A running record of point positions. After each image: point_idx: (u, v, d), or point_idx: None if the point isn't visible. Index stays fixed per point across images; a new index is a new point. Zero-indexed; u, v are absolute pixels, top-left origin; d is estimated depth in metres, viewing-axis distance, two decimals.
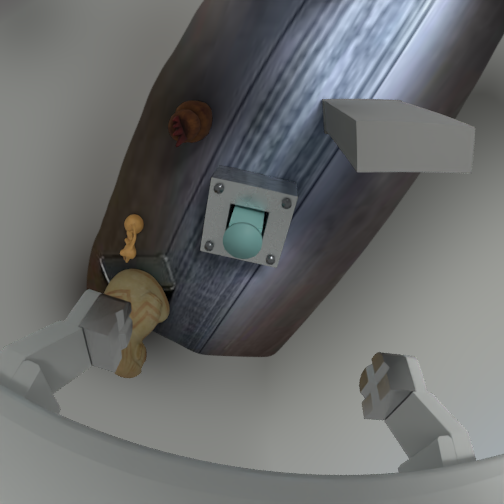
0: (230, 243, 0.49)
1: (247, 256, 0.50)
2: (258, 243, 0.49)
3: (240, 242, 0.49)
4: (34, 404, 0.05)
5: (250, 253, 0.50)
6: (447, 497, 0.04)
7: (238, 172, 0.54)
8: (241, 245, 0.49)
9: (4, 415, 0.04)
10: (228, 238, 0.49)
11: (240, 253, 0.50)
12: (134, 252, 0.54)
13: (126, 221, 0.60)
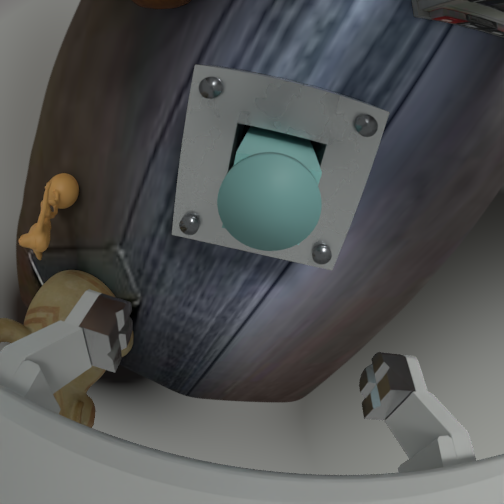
0: (237, 210, 0.19)
1: (280, 244, 0.20)
2: (311, 209, 0.18)
3: (264, 206, 0.18)
4: (34, 404, 0.05)
5: (289, 236, 0.19)
6: (447, 497, 0.04)
7: (253, 72, 0.24)
8: (266, 214, 0.19)
9: (4, 415, 0.04)
10: (232, 195, 0.18)
11: (263, 237, 0.19)
12: (44, 239, 0.24)
13: None
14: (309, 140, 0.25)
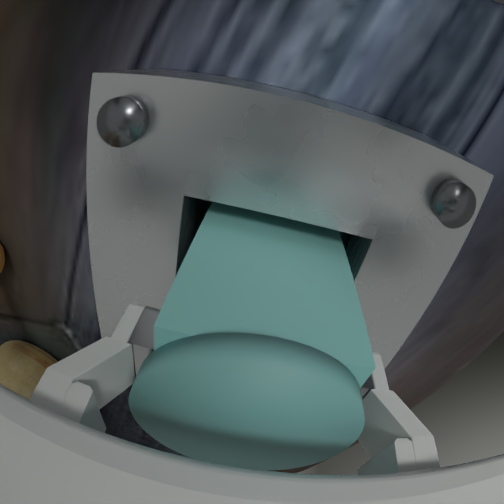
0: (176, 431, 0.07)
1: (269, 466, 0.08)
2: (339, 437, 0.07)
3: (233, 433, 0.07)
4: (34, 404, 0.05)
5: (286, 461, 0.08)
6: (447, 497, 0.04)
7: (228, 78, 0.13)
8: (237, 441, 0.07)
9: (4, 415, 0.04)
10: (160, 413, 0.07)
11: (234, 459, 0.08)
12: None
13: None
14: None
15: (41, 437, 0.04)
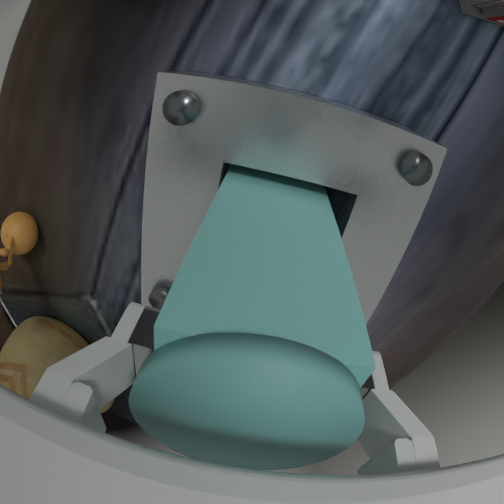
0: (176, 430, 0.07)
1: (269, 466, 0.08)
2: (339, 436, 0.07)
3: (233, 433, 0.07)
4: (34, 404, 0.05)
5: (286, 461, 0.08)
6: (447, 497, 0.04)
7: (249, 81, 0.17)
8: (237, 440, 0.07)
9: (4, 415, 0.04)
10: (160, 413, 0.07)
11: (234, 459, 0.08)
12: None
13: (2, 227, 0.22)
14: (331, 210, 0.14)
15: (41, 437, 0.04)
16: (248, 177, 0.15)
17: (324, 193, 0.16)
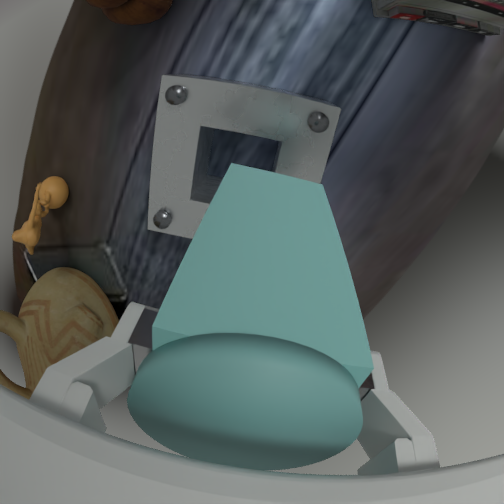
0: (175, 431, 0.07)
1: (268, 467, 0.08)
2: (337, 437, 0.07)
3: (231, 433, 0.07)
4: (34, 404, 0.05)
5: (285, 461, 0.08)
6: (447, 497, 0.04)
7: None
8: (236, 441, 0.07)
9: (4, 415, 0.04)
10: (158, 413, 0.07)
11: (233, 460, 0.08)
12: (34, 234, 0.26)
13: (40, 187, 0.31)
14: (330, 210, 0.14)
15: (41, 437, 0.04)
16: (247, 177, 0.15)
17: (323, 193, 0.16)
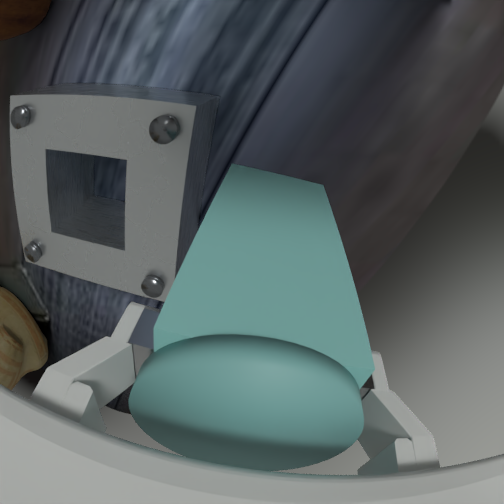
0: (176, 432, 0.07)
1: (269, 467, 0.08)
2: (338, 438, 0.07)
3: (233, 434, 0.07)
4: (34, 404, 0.05)
5: (286, 462, 0.08)
6: (447, 497, 0.04)
7: (87, 85, 0.19)
8: (237, 442, 0.07)
9: (4, 415, 0.04)
10: (160, 414, 0.07)
11: (234, 460, 0.08)
12: None
13: None
14: (331, 210, 0.14)
15: (41, 437, 0.04)
16: (248, 177, 0.15)
17: (324, 194, 0.16)
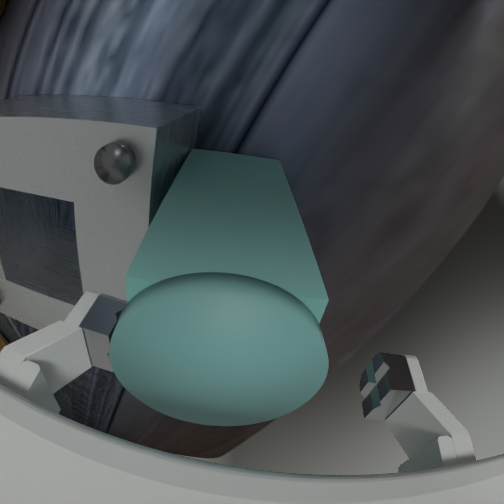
0: (155, 385, 0.08)
1: (249, 419, 0.10)
2: (307, 375, 0.08)
3: (207, 379, 0.08)
4: (34, 404, 0.05)
5: (264, 410, 0.09)
6: (447, 497, 0.04)
7: (39, 99, 0.15)
8: (213, 388, 0.08)
9: (4, 415, 0.04)
10: (138, 365, 0.08)
11: (215, 414, 0.09)
12: None
13: None
14: (286, 179, 0.15)
15: (41, 437, 0.04)
16: (207, 158, 0.16)
17: (280, 167, 0.17)
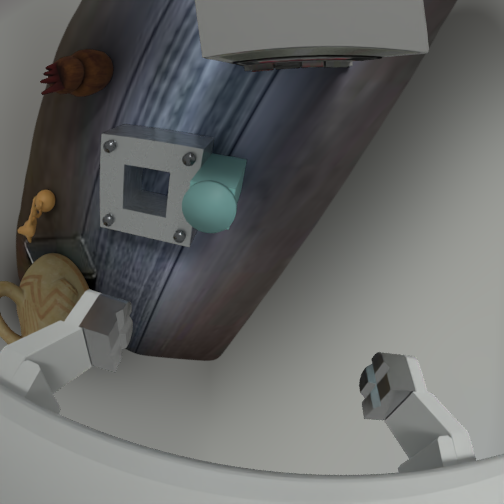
0: (192, 211, 0.35)
1: (217, 229, 0.36)
2: (230, 209, 0.34)
3: (206, 209, 0.34)
4: (34, 404, 0.05)
5: (220, 224, 0.35)
6: (447, 497, 0.04)
7: (141, 129, 0.41)
8: (207, 213, 0.35)
9: (4, 415, 0.04)
10: (189, 204, 0.34)
11: (207, 225, 0.35)
12: (32, 229, 0.41)
13: (36, 197, 0.46)
14: (243, 166, 0.41)
15: (41, 437, 0.04)
16: (217, 157, 0.42)
17: (245, 162, 0.43)
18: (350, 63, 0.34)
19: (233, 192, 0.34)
